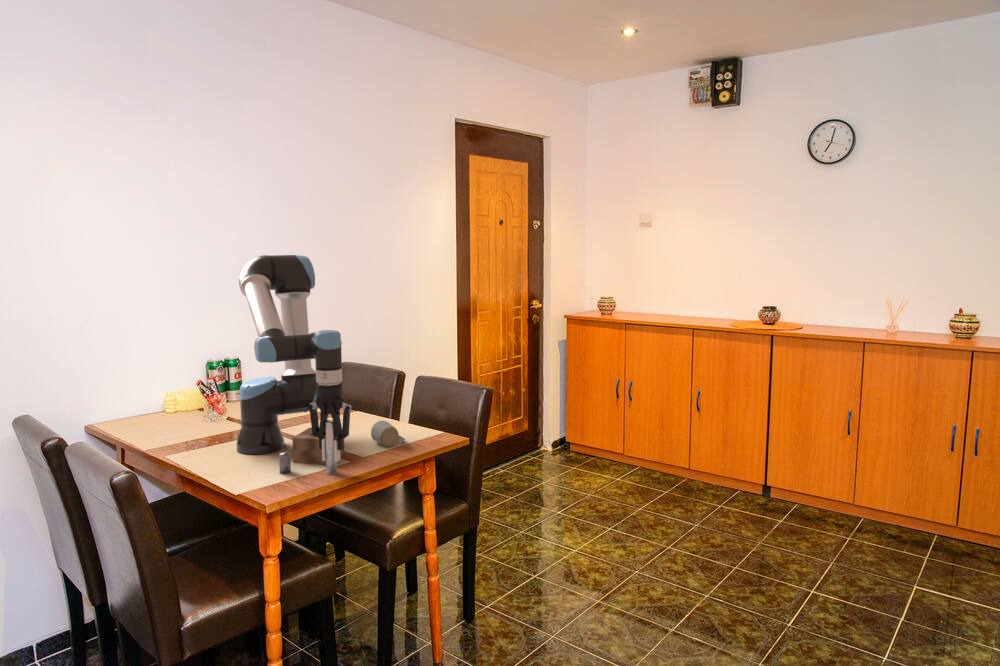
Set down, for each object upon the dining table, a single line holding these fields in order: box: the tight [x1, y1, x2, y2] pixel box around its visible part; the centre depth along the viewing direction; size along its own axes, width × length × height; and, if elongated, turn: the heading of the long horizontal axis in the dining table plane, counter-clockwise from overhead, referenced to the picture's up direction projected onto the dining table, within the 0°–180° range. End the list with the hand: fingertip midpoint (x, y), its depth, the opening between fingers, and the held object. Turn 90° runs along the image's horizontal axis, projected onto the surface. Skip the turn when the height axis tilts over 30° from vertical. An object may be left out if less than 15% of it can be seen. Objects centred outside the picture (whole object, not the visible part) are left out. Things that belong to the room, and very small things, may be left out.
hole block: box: [292, 426, 346, 465], centre depth 215 cm, size 12×12×8 cm
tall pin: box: [325, 419, 338, 476], centre depth 200 cm, size 3×3×16 cm
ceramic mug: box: [370, 420, 405, 448], centre depth 230 cm, size 11×8×8 cm
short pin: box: [278, 450, 292, 475], centre depth 201 cm, size 3×3×6 cm
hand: (331, 459), depth 201 cm, fingers closed on tall pin, 3 cm apart
